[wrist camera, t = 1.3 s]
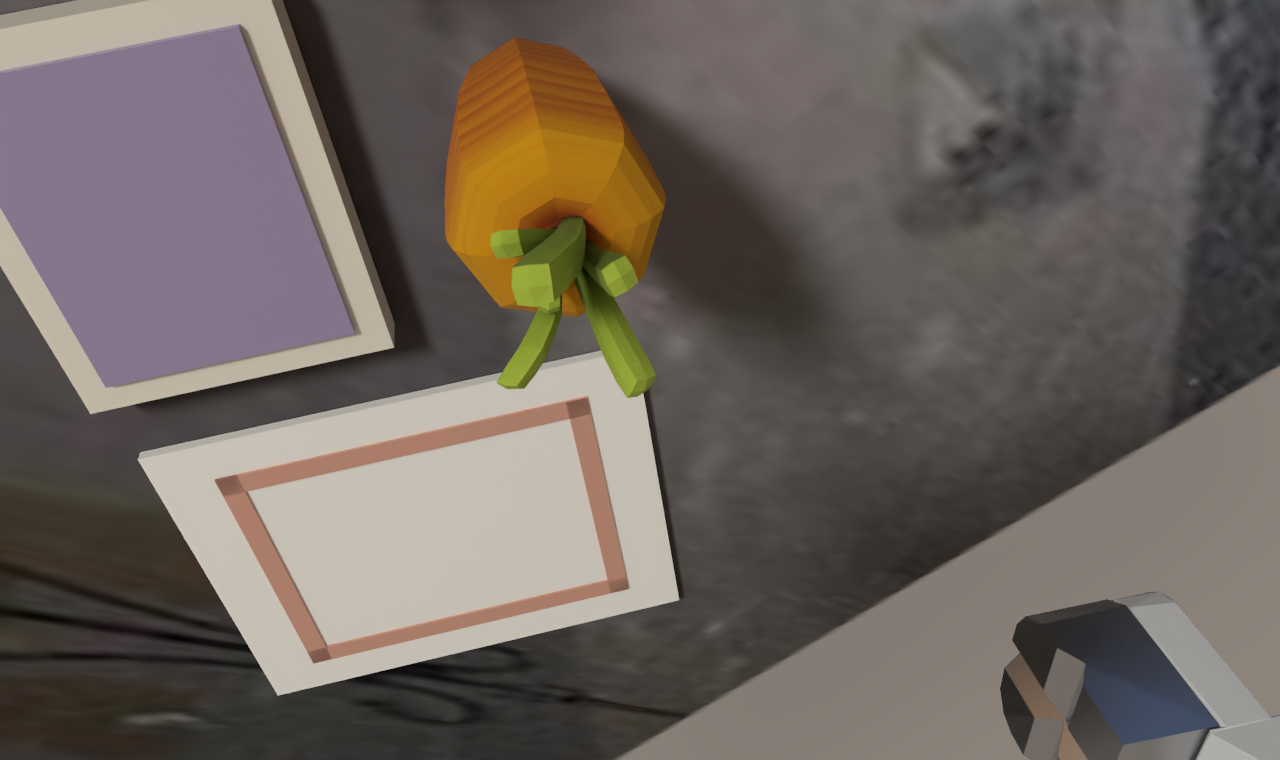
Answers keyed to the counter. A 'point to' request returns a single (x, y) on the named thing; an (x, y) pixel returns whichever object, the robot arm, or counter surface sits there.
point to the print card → (426, 521)
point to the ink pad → (176, 199)
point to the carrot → (551, 202)
